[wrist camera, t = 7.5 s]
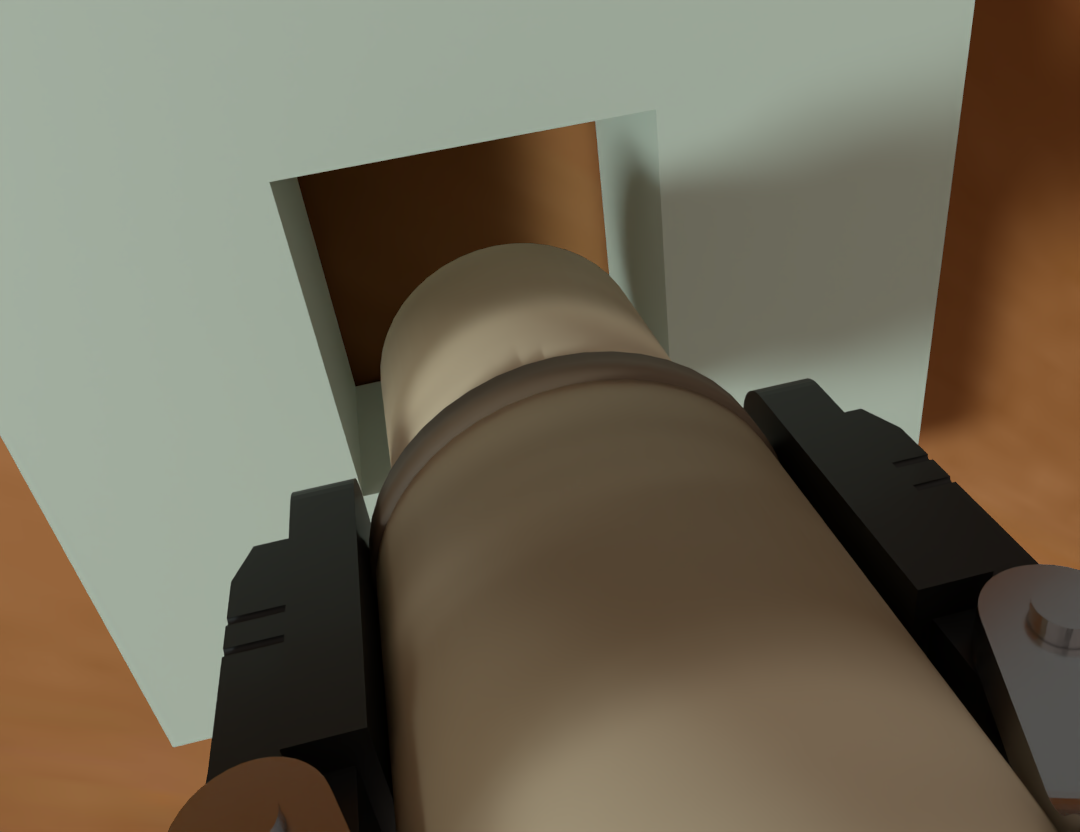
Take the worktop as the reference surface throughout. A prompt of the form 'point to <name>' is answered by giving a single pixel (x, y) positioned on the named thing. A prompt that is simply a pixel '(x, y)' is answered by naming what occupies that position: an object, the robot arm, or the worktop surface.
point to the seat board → (397, 131)
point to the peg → (630, 594)
